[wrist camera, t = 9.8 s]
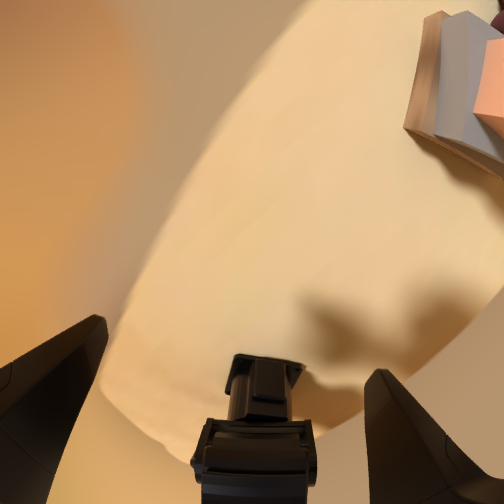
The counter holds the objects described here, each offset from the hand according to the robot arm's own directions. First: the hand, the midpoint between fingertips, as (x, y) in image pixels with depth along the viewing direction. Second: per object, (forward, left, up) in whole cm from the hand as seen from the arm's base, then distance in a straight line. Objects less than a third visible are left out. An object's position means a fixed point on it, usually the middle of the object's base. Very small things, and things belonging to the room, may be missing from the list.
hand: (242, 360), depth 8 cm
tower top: (+13, -12, -10) cm, 20 cm away
